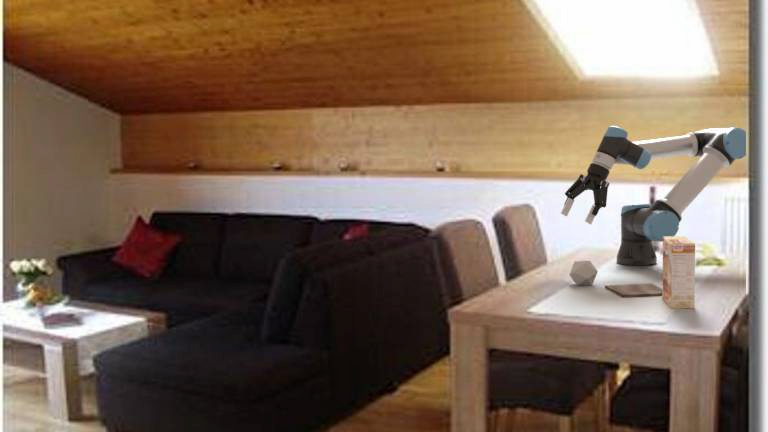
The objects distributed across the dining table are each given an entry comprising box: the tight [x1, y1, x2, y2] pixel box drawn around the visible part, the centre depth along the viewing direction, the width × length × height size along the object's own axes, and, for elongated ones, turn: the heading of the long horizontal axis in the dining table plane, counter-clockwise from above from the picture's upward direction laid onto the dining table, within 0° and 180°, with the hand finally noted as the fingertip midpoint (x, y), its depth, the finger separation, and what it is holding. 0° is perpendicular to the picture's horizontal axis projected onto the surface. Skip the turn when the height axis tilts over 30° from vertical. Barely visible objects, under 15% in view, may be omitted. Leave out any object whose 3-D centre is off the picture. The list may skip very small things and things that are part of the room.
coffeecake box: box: [661, 235, 696, 309], centre depth 244 cm, size 15×7×20 cm, turn 170°
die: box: [569, 260, 598, 286], centre depth 277 cm, size 8×9×10 cm
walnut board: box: [604, 283, 663, 298], centre depth 263 cm, size 16×16×1 cm
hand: (575, 218), depth 296 cm, fingers open, 13 cm apart
